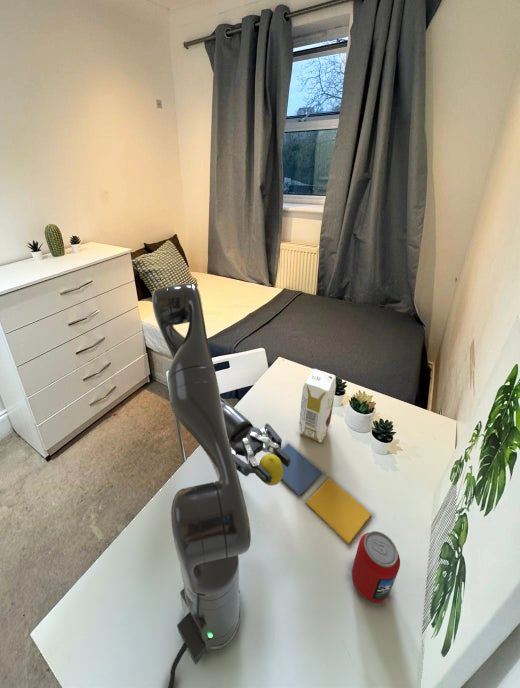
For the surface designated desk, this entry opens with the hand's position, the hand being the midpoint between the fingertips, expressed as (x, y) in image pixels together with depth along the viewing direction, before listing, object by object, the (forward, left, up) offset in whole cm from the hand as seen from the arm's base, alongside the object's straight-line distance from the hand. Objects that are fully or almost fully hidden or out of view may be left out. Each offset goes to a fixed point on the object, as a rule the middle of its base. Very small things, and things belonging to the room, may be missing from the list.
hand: (279, 471), depth 71 cm
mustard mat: (+10, -9, -12) cm, 18 cm away
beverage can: (+3, -21, -12) cm, 25 cm away
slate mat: (+10, +4, -12) cm, 16 cm away
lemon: (0, +3, -6) cm, 7 cm away
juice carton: (+24, +8, -12) cm, 28 cm away
